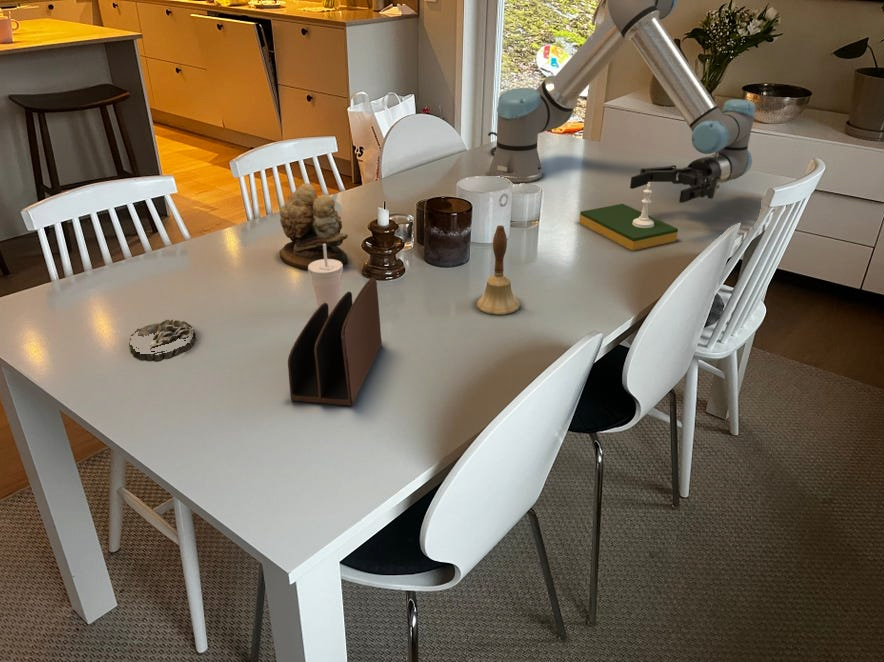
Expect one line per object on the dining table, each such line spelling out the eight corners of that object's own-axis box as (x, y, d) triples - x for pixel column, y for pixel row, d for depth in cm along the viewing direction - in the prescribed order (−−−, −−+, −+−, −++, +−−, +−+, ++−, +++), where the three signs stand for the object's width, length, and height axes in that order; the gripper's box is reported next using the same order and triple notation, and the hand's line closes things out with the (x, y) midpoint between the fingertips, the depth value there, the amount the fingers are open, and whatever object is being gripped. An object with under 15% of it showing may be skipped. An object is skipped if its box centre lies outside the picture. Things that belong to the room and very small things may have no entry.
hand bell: (467, 306, 144) (469, 227, 136) (493, 292, 149) (496, 215, 141) (502, 319, 139) (506, 238, 131) (528, 304, 145) (532, 225, 136)
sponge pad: (579, 223, 183) (580, 211, 182) (621, 215, 188) (622, 203, 187) (632, 250, 168) (633, 238, 167) (676, 241, 173) (678, 228, 172)
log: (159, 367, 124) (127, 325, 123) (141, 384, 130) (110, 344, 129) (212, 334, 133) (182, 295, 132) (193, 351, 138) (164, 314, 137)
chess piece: (652, 221, 176) (658, 179, 171) (655, 228, 172) (661, 186, 167) (631, 220, 176) (636, 178, 171) (633, 227, 172) (639, 185, 167)
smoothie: (318, 323, 138) (311, 252, 131) (307, 309, 143) (300, 240, 135) (351, 315, 140) (346, 246, 133) (339, 302, 145) (334, 234, 138)
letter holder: (382, 344, 131) (378, 270, 124) (352, 407, 114) (346, 325, 107) (327, 340, 132) (320, 266, 125) (290, 401, 115) (279, 320, 108)
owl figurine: (364, 259, 164) (359, 182, 155) (328, 277, 155) (321, 198, 146) (303, 242, 172) (295, 169, 163) (266, 259, 164) (256, 182, 155)
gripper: (666, 146, 190) (614, 162, 178) (757, 168, 174) (706, 186, 162) (662, 175, 194) (611, 192, 182) (750, 199, 178) (700, 219, 166)
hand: (655, 189), depth 172 cm, fingers open, 13 cm apart
